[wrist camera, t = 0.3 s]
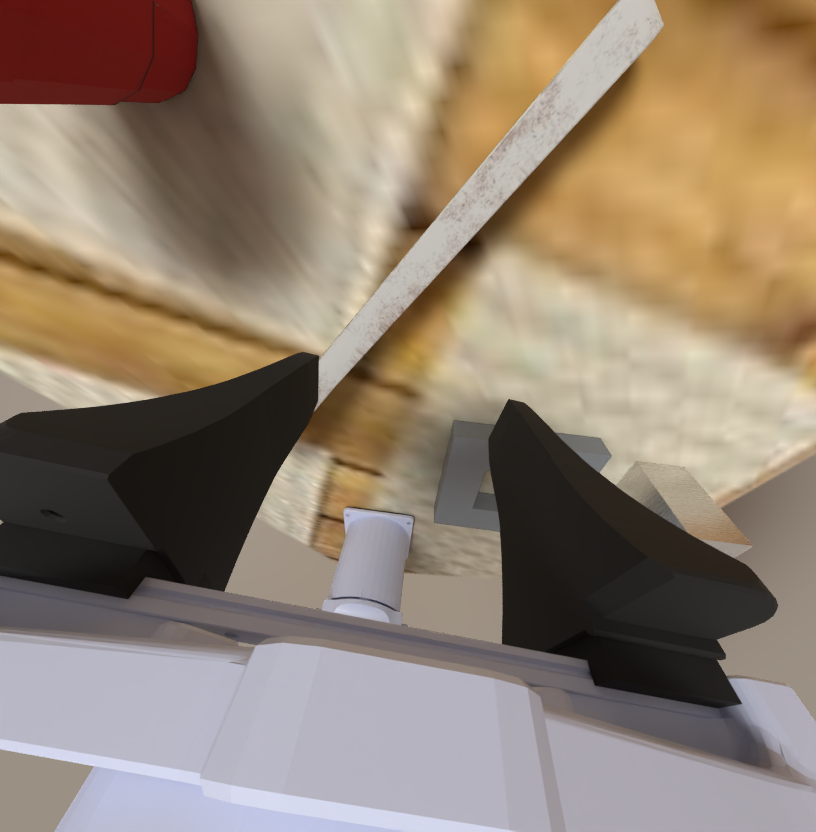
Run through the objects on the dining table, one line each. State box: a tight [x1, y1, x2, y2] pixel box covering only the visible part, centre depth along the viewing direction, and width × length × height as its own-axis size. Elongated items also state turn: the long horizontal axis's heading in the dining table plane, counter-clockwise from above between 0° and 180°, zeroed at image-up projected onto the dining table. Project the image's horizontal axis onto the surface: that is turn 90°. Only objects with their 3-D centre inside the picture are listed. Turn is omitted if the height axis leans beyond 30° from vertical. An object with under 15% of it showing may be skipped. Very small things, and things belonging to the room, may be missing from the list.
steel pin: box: [616, 461, 753, 558], centre depth 23 cm, size 4×4×7 cm
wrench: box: [313, 0, 664, 413], centre depth 17 cm, size 8×2×30 cm
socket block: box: [434, 420, 611, 532], centre depth 27 cm, size 12×12×2 cm
